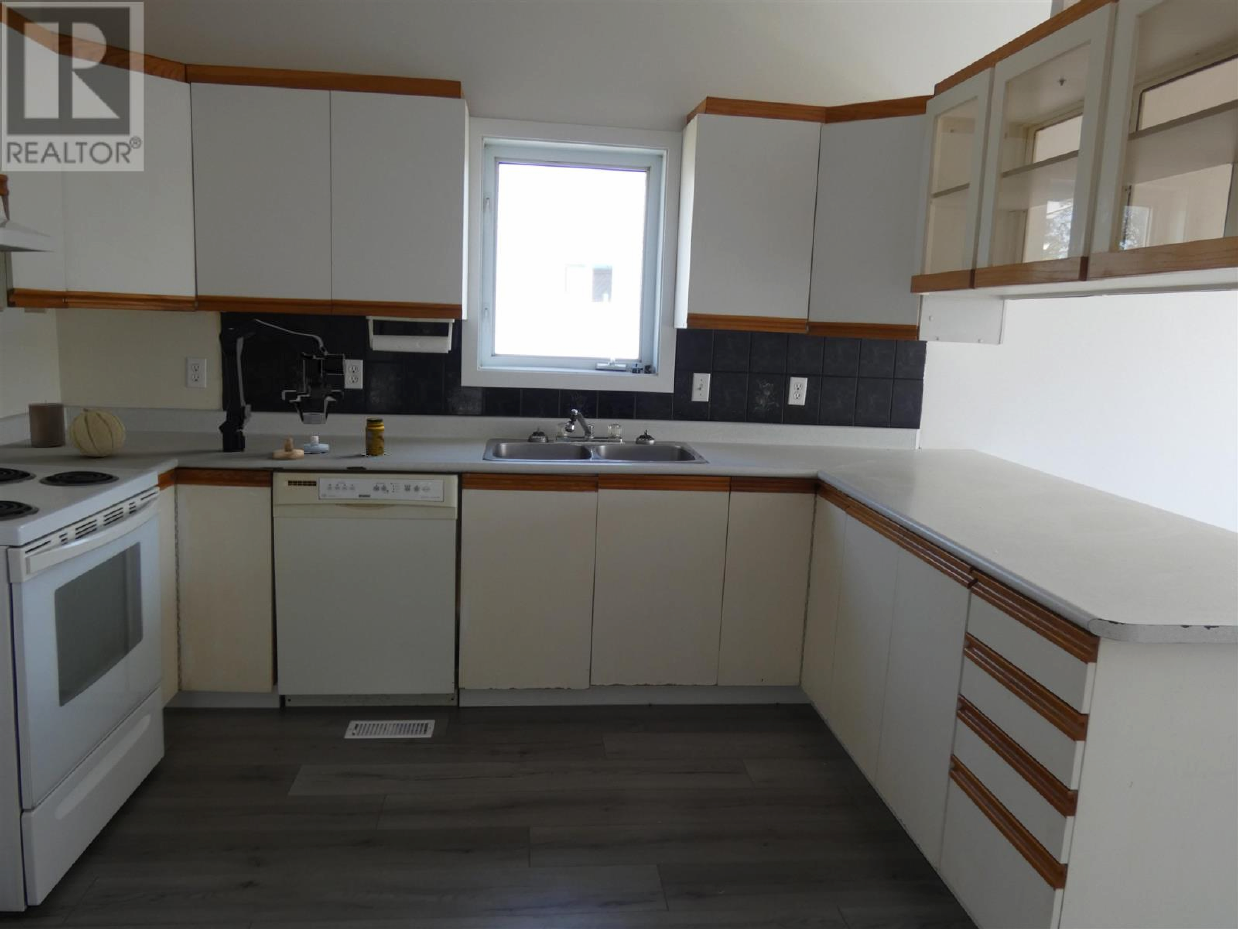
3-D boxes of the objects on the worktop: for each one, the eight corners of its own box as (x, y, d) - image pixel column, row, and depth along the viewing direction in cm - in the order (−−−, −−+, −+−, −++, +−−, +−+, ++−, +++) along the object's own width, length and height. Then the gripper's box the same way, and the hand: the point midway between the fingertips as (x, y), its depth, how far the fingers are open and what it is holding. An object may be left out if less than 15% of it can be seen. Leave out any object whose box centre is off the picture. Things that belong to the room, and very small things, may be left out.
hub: (303, 454, 287) (303, 438, 287) (297, 450, 295) (297, 435, 294) (331, 452, 292) (331, 437, 291) (325, 448, 300) (325, 434, 299)
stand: (276, 460, 274) (275, 441, 273) (271, 456, 282) (270, 437, 281) (306, 458, 278) (306, 440, 277) (300, 454, 286) (300, 436, 285)
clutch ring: (305, 424, 287) (304, 415, 287) (300, 422, 293) (300, 413, 293) (327, 424, 291) (326, 415, 290) (322, 421, 297) (322, 412, 296)
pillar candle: (64, 447, 285) (61, 400, 283) (28, 447, 281) (25, 401, 279) (67, 443, 294) (65, 398, 291) (33, 444, 289) (30, 398, 287)
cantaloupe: (133, 457, 270) (130, 409, 267) (78, 462, 260) (75, 411, 257) (117, 451, 280) (115, 404, 278) (64, 455, 270) (61, 406, 267)
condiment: (389, 455, 292) (389, 419, 290) (366, 457, 286) (365, 420, 284) (378, 452, 297) (378, 416, 295) (355, 454, 291) (354, 418, 289)
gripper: (287, 375, 278) (288, 424, 280) (347, 375, 287) (348, 423, 290) (281, 373, 287) (282, 420, 290) (339, 373, 297) (340, 419, 299)
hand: (313, 421), depth 292 cm, fingers closed on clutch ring, 7 cm apart
